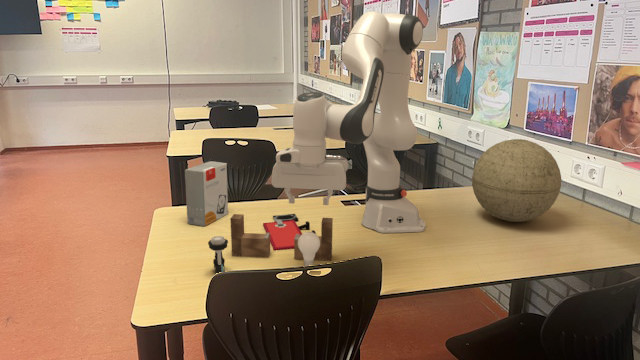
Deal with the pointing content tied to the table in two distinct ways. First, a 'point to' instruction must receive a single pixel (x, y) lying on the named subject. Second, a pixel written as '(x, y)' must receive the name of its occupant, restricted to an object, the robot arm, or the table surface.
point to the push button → (218, 252)
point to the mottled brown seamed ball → (516, 180)
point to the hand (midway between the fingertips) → (308, 203)
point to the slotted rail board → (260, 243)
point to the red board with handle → (284, 231)
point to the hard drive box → (206, 193)
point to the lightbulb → (308, 247)
